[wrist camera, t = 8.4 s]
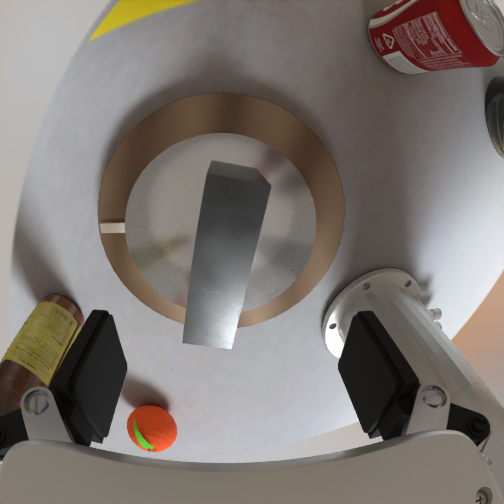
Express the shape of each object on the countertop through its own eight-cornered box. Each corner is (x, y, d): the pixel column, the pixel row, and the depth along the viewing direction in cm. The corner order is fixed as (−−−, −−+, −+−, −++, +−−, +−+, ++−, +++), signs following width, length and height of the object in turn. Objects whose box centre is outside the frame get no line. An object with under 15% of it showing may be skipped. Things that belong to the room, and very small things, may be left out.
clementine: (118, 392, 31) (107, 434, 25) (161, 388, 31) (155, 434, 25) (145, 422, 35) (140, 460, 28) (186, 419, 35) (184, 459, 28)
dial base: (346, 108, 20) (358, 107, 18) (317, 312, 28) (324, 326, 26) (102, 104, 18) (90, 102, 16) (124, 313, 26) (118, 327, 24)
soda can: (410, 88, 19) (510, 86, 9) (354, 45, 18) (445, 5, 7) (429, 43, 17) (518, 28, 6) (377, 1, 15) (458, -42, 5)
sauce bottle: (35, 291, 24) (-54, 425, 6) (76, 290, 24) (-14, 453, 7) (55, 336, 27) (-6, 469, 9) (95, 338, 27) (41, 493, 9)
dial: (142, 120, 17) (101, 117, 10) (331, 157, 20) (382, 174, 13) (127, 290, 22) (101, 348, 16) (284, 313, 25) (303, 373, 18)
